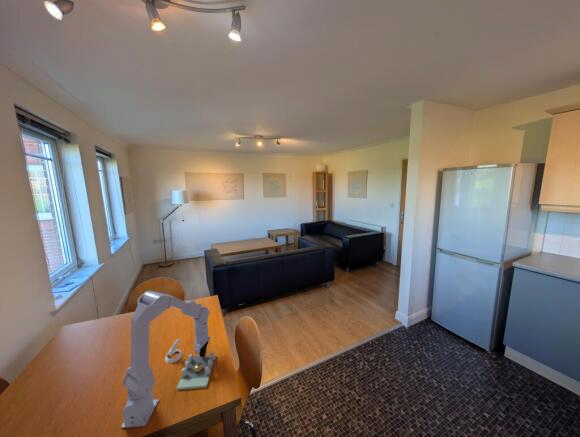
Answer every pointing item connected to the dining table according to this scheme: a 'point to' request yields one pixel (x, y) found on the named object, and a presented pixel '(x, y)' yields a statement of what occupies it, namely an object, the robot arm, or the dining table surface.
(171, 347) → the vr controller
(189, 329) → the dining table surface
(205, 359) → the board
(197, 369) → the brass metal puck
